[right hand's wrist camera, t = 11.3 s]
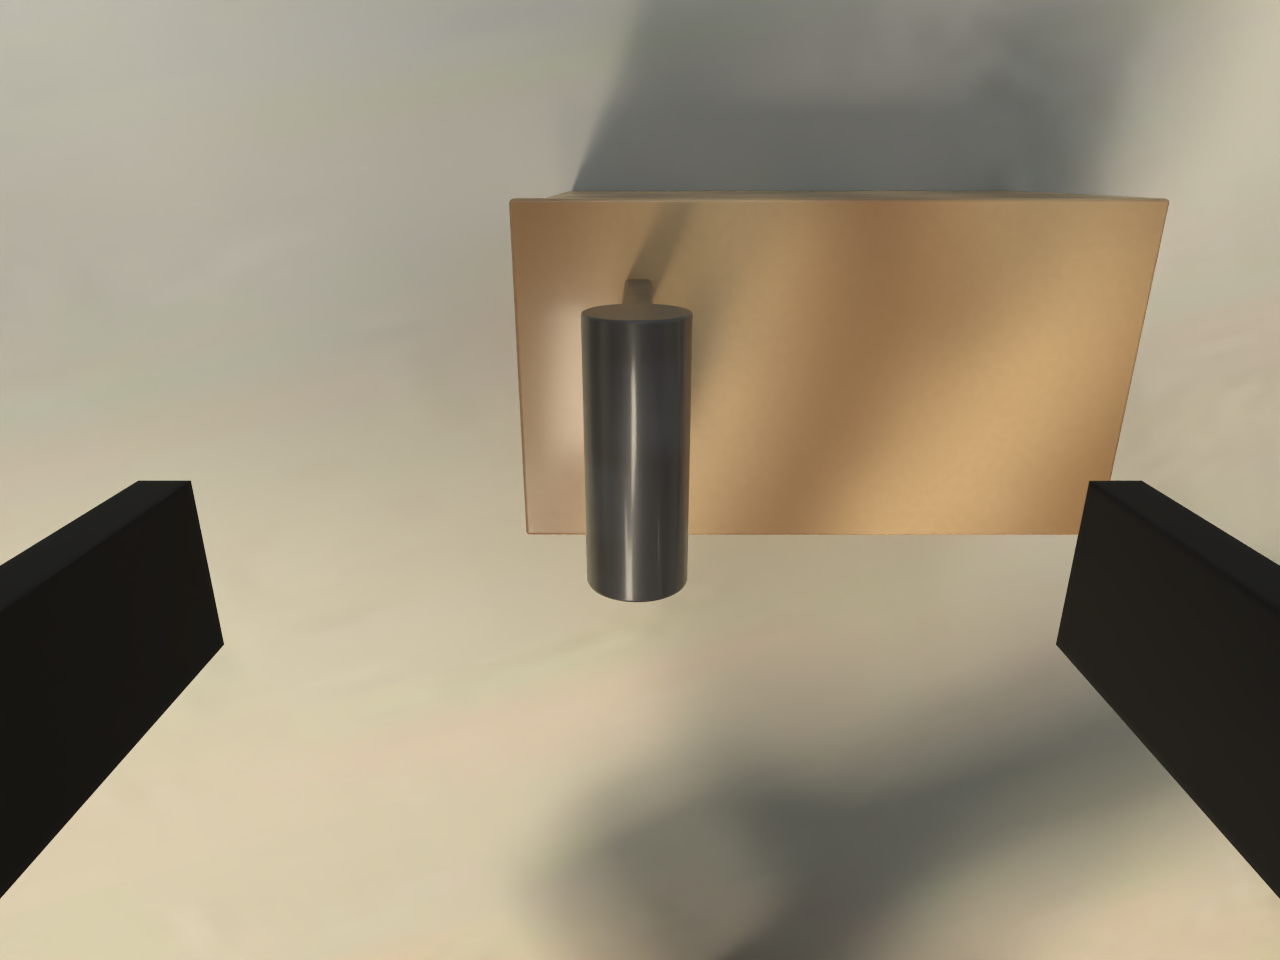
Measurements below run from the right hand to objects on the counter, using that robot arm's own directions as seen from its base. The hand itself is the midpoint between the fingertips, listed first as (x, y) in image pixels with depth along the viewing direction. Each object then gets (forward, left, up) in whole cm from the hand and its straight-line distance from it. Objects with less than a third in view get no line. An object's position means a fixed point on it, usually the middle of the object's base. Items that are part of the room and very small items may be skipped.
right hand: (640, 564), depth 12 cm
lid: (+3, -4, -12) cm, 13 cm away
